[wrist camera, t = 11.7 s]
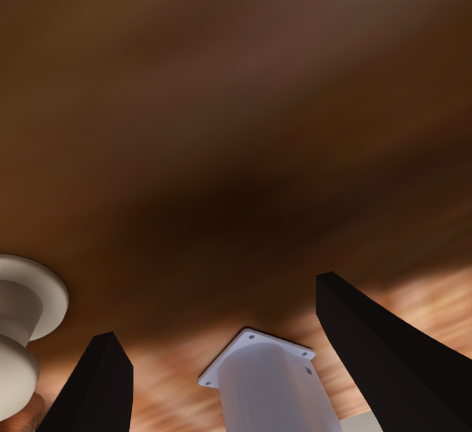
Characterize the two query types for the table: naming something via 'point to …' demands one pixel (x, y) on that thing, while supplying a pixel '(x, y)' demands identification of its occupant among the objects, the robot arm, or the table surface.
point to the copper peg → (24, 417)
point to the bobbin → (25, 325)
